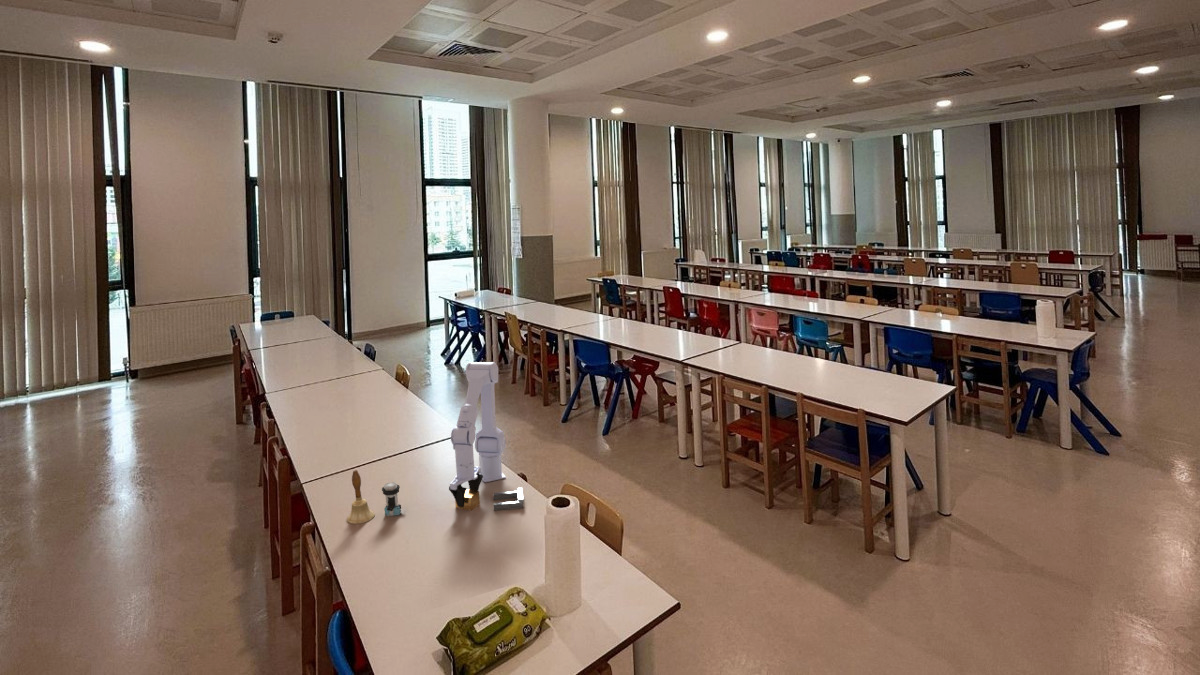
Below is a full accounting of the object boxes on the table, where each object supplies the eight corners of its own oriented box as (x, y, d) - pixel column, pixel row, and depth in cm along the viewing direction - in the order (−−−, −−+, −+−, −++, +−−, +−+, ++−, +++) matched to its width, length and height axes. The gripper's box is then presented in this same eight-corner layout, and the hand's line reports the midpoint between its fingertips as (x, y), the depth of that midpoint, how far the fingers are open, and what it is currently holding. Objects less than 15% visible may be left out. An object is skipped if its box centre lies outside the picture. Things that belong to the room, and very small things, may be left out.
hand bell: (365, 525, 187) (360, 476, 184) (341, 523, 189) (335, 475, 186) (379, 512, 195) (375, 466, 192) (356, 510, 197) (351, 464, 194)
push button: (408, 509, 196) (405, 481, 195) (403, 517, 191) (400, 488, 189) (387, 510, 196) (384, 481, 195) (381, 518, 191) (379, 488, 189)
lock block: (455, 508, 197) (454, 495, 197) (464, 501, 202) (463, 488, 201) (471, 510, 195) (470, 497, 194) (479, 504, 200) (479, 491, 199)
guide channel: (493, 510, 195) (493, 502, 194) (493, 498, 203) (493, 490, 203) (523, 507, 196) (523, 499, 196) (522, 495, 205) (522, 487, 204)
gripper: (462, 472, 188) (464, 513, 190) (487, 455, 201) (490, 493, 203) (443, 469, 190) (446, 509, 193) (469, 453, 203) (472, 490, 206)
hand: (467, 501), depth 198 cm, fingers open, 7 cm apart
